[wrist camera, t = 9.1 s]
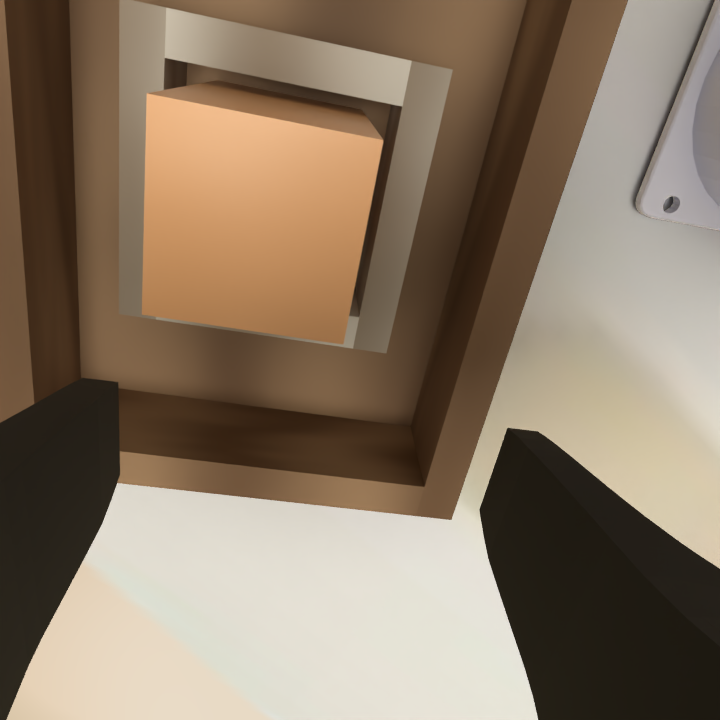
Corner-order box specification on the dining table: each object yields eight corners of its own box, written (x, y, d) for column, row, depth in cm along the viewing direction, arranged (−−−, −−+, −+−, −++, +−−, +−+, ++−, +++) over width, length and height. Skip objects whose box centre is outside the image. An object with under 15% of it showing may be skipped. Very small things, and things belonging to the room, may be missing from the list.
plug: (361, 109, 16) (383, 140, 10) (337, 246, 18) (343, 344, 12) (217, 79, 16) (146, 92, 10) (206, 224, 18) (141, 314, 11)
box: (604, -134, 15) (694, -197, 11) (431, 447, 23) (451, 519, 19) (13, -296, 13) (-108, -434, 9) (53, 399, 21) (-4, 469, 17)
